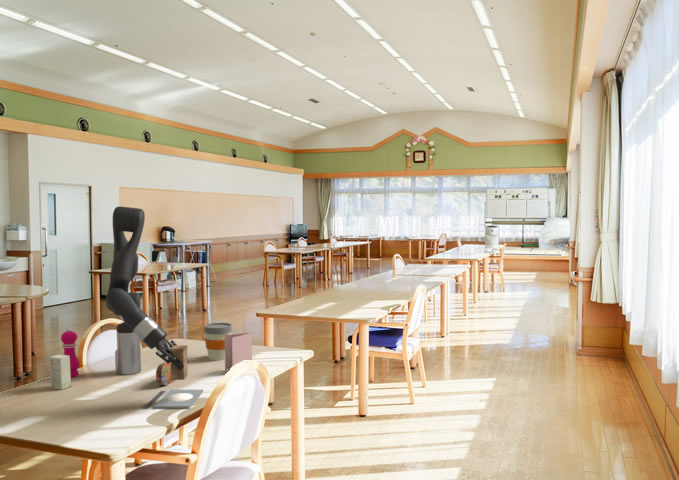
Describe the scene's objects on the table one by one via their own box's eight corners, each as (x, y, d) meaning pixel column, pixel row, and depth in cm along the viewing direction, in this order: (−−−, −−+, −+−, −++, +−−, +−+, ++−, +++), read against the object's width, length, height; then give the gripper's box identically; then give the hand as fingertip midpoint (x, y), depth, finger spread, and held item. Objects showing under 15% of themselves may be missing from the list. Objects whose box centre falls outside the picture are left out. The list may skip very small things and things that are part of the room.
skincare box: (71, 386, 213) (70, 355, 213) (61, 390, 209) (60, 358, 209) (60, 384, 216) (59, 353, 215) (49, 388, 212) (48, 356, 211)
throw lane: (142, 408, 189) (142, 405, 189) (161, 391, 207) (161, 389, 207) (189, 408, 188) (189, 405, 188) (203, 391, 206) (203, 389, 206)
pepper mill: (60, 379, 223) (59, 330, 222) (60, 375, 229) (58, 326, 228) (80, 377, 226) (79, 328, 225) (79, 372, 233) (78, 325, 232)
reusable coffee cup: (229, 361, 249) (228, 328, 248) (201, 361, 249) (200, 328, 249) (235, 354, 262) (234, 322, 261) (208, 354, 262) (207, 322, 261)
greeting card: (251, 367, 240) (251, 332, 239) (255, 371, 233) (254, 335, 232) (224, 369, 236) (224, 334, 235) (227, 374, 229) (227, 338, 228)
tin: (162, 388, 211) (161, 366, 211) (154, 387, 212) (154, 365, 211) (181, 376, 226) (180, 356, 225) (174, 376, 226) (173, 356, 226)
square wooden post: (170, 379, 195) (170, 348, 194) (175, 376, 199) (174, 345, 199) (183, 379, 195) (183, 348, 194) (187, 376, 199) (187, 345, 199)
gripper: (150, 329, 189) (186, 364, 190) (164, 321, 204) (197, 354, 204) (134, 344, 190) (170, 379, 190) (150, 335, 204) (183, 368, 204)
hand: (184, 366), depth 197 cm, fingers closed on square wooden post, 4 cm apart
